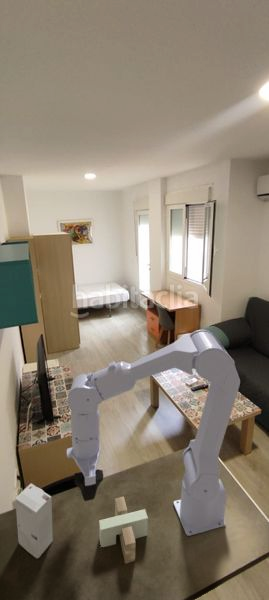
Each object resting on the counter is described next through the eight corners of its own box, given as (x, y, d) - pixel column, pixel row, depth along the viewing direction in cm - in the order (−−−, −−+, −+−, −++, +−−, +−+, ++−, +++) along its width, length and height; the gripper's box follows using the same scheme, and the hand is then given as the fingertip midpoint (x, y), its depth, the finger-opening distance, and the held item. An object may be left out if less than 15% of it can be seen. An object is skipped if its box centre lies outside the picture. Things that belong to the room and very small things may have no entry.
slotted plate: (144, 526, 65) (145, 509, 63) (147, 535, 63) (147, 517, 61) (99, 538, 62) (99, 520, 61) (100, 548, 60) (100, 529, 59)
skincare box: (17, 543, 61) (12, 498, 57) (34, 525, 64) (30, 481, 61) (38, 560, 58) (34, 514, 54) (55, 540, 62) (52, 495, 58)
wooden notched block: (123, 513, 67) (123, 496, 66) (135, 560, 58) (135, 542, 57) (115, 515, 67) (115, 498, 66) (125, 563, 58) (125, 545, 56)
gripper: (64, 412, 66) (66, 460, 70) (67, 462, 53) (70, 519, 56) (95, 407, 68) (96, 455, 72) (106, 455, 55) (106, 510, 58)
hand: (87, 482), depth 64 cm, fingers open, 7 cm apart
